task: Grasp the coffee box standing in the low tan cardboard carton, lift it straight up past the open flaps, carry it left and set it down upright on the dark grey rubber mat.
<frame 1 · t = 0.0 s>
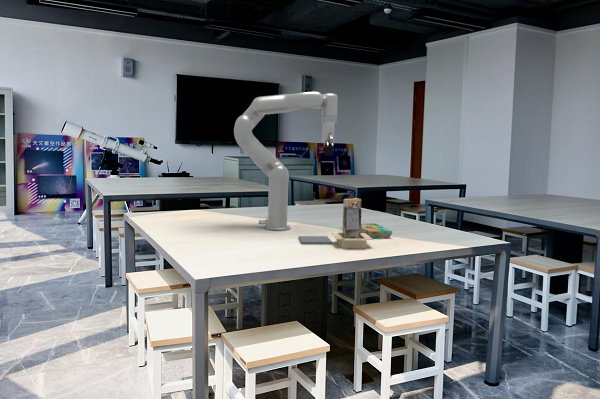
hand: (327, 155, 244), 37 cm above the table, tool pointing down, fingers open, 9 cm apart
puzzle game: (371, 235, 237), on the table
mat: (314, 241, 217), on the table
candy box: (351, 229, 250), on the table
coffee box: (350, 245, 212), resting in carton
carton: (350, 244, 212), on the table
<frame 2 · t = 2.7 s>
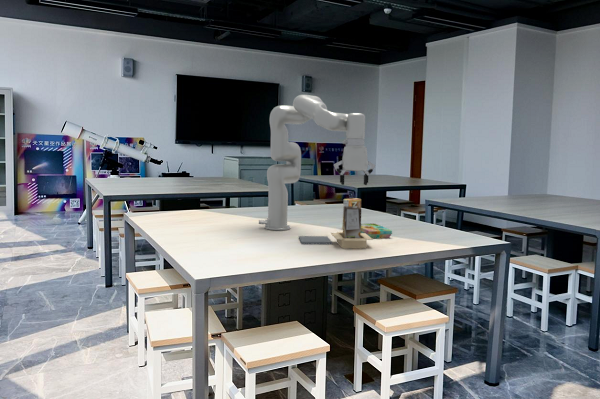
hand: (353, 184, 208), 26 cm above the table, tool pointing down, fingers open, 9 cm apart
nothing on the table moved.
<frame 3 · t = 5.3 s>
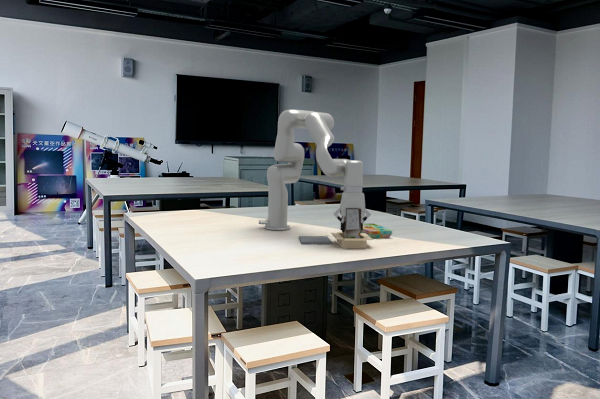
hand: (351, 231, 211), 6 cm above the table, tool pointing down, fingers closed on coffee box, 6 cm apart
coffee box: (350, 245, 212), resting in carton, touching gripper
everything else where it was.
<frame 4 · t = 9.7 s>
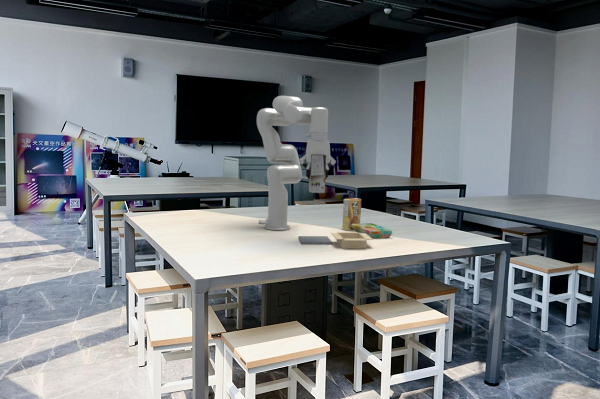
hand: (316, 178, 214), 27 cm above the table, tool pointing down, fingers closed on coffee box, 6 cm apart
coffee box: (316, 192, 215), point 21 cm above the table, touching gripper
everything else where it was.
when the fingers open (8 cm above the table, at t = 14.3 s): coffee box drops 1 cm, resting on mat.
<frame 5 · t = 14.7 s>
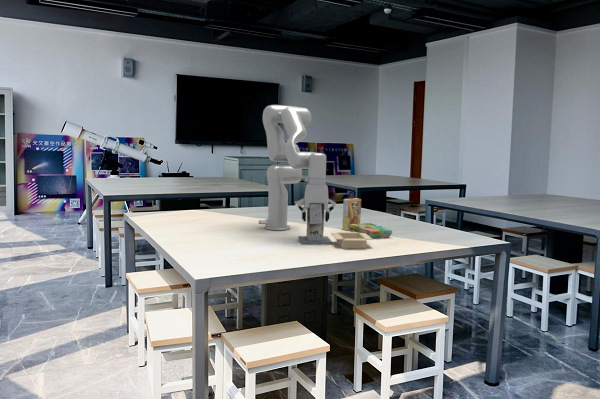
hand: (315, 221, 216), 9 cm above the table, tool pointing down, fingers open, 9 cm apart
coffee box: (314, 239, 217), point 1 cm above the table, touching mat
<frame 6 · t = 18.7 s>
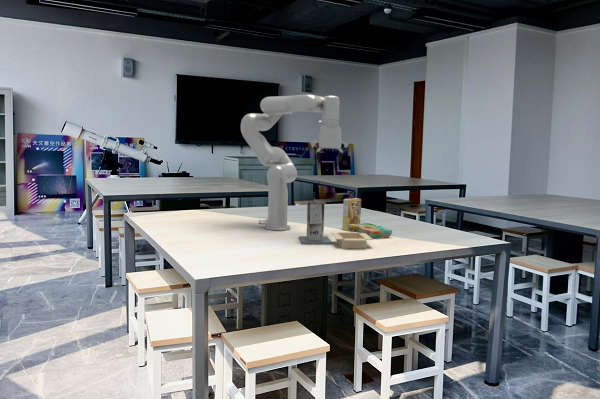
hand: (329, 161, 229), 34 cm above the table, tool pointing down, fingers open, 9 cm apart
at the end: coffee box inside the target area on the mat (0.3 cm from its centre), point 0.8 cm above the mat's base; coffee box tilted 0°; the gripper is holding nothing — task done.
